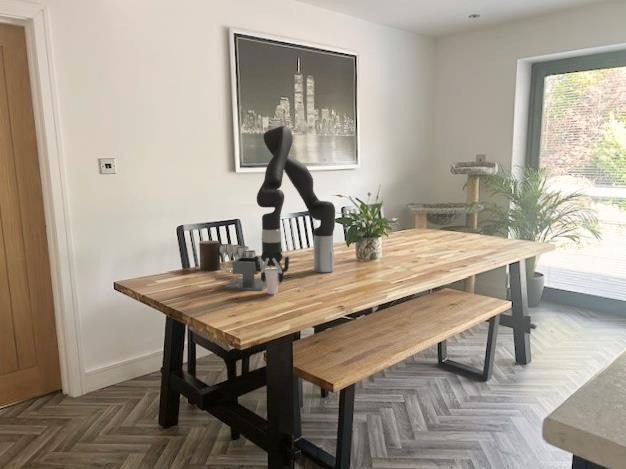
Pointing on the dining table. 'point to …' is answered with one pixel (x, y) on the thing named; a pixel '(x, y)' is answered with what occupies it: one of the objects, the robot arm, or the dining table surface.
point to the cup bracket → (246, 275)
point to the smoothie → (272, 279)
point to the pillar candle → (209, 256)
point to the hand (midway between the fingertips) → (272, 281)
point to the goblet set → (234, 253)
